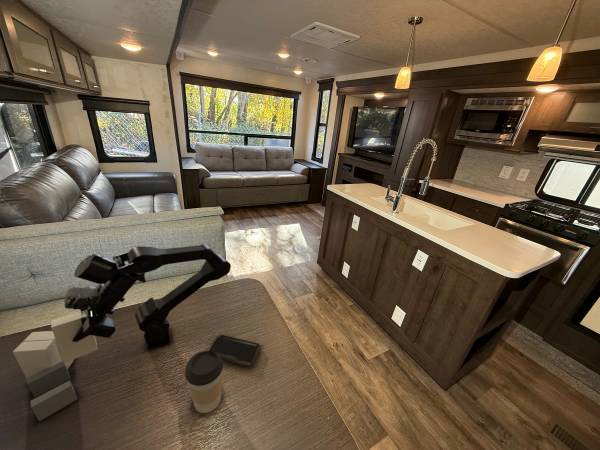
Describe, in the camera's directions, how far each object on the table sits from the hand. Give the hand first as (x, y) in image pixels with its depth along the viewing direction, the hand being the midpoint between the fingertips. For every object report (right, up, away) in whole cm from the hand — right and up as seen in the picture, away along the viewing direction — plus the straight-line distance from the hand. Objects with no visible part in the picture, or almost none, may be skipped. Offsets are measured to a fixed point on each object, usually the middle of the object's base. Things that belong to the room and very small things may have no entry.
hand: (73, 337), depth 65 cm
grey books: (-4, -15, -1) cm, 15 cm away
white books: (-10, -12, +5) cm, 16 cm away
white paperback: (0, -5, +2) cm, 6 cm away
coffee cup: (+35, -18, +2) cm, 39 cm away
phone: (+39, -12, +16) cm, 43 cm away
